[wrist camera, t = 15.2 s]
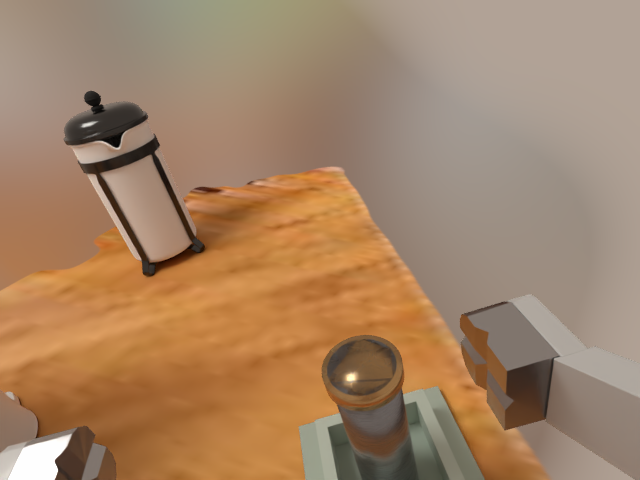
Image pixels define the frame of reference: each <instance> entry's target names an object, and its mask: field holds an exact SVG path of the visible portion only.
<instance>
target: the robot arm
mask: <svg viewBox="0 0 640 480" xmlns="http://www.w3.org/2000/svg"><path fill="white" fill-rule="evenodd" d="M460 328H461V330H462V331H463V333H464V334H465V337H464V338H463V340H462V342H461V349H462V355H463V358H464V362H465V365H466V367H467V369H468V371H469V374H470V375H471V377H472V379H473V380H474V382H475V384H476V385H478V386H480V387H482V388H483V389H485V390H487V403H488V405H489V406H490V408H491V410H492V411H493V413H494V414H495V416H496V418H497V419H498V421H499V422H500V424H501V425H502V427H503V429H504V430H508V429H512V428H515V427H519V426H523V425H526V424H530V423H534V422H538V421H541V420H545V419H546V422H547V423H549V424H550V425H552V426H553V427H555V428H556V429H558V430H559V431H561V432H562V433H564V434H566V435H567V436H569V437H570V438H572V439H573V440H575V441H576V442H578V443H579V444H581V445H583V446H584V447H586V448H587V449H589V450H590V451H592V452H594V453H595V454H596V455H598V456H600V457H601V458H603V459H604V460H606V461H607V462H609V463H610V464H612V465H614V466H615V467H617V468H618V469H620V470H621V471H623V472H624V473H626V474H627V475H629V476H630V477H632V478H633V479H635V480H640V363H638V362H635V361H632V360H630V359H627V358H624V357H622V356H619V355H617V354H614V353H611V352H609V351H606V350H604V349H601V348H599V347H596V346H595V347H591V348H587V347H586V346H585V345H584V344H583V343H582V342H581V341H580V340H579V339H578V338H577V337H576V336H575V335H574V334H573V333H572V332H571V331H570V330H569V329H568V328H567V327H566V326H565V325H564V324H563V323H562V322H561V321H560V320H559V319H558V318H557V317H556V316H555V315H553V313H552V312H551V311H550V310H548V309H547V308H546V307H545V306H544V305H543V304H542V303H541V302H540V301H539V300H538V299H537V298H536V297H535V296H533V295H530V294H528V295H524V296H521V297H518V298H515V299H511V300H508V301H506V302H501V303H497V304H494V305H491V306H487V307H484V308H481V309H477V310H474V311H471V312H468V313H464V314H462V315H461V318H460ZM37 430H38V421H37V418H36V416H35V414H34V413H33V412H32V411H30V410H28V409H26V408H24V407H22V406H21V405H20V402H19V398H18V397H17V396H16V395H15V394H13V393H12V392H6V393H4V392H3V391H1V390H0V480H116V463H115V460H114V458H113V455H112V453H111V452H110V451H109V450H108V448H107V447H105V446H102V445H99V444H96V443H94V439H95V434H94V433H93V432H92V431H91V430H90V429H89V428H88V427H87V426H83V427H77V428H74V429H70V430H66V431H62V432H59V433H55V434H51V435H47V436H44V437H40V438H36V435H37ZM35 438H36V439H35Z"/></svg>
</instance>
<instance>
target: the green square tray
mask: <svg viewBox="0 0 640 480" xmlns="http://www.w3.org/2000/svg"><path fill="white" fill-rule="evenodd" d="M403 398H404V403H405V408H406V413H407V419H408V424H409V429H410V434H411V440H412V445H413V450H414V455H415V461H416V466H417V471H418V476H419V480H485V479H484V477H483V475H482V473H481V471H480V469H479V467H478V465H477V463H476V461H475V459H474V457H473V455H472V453H471V451H470V449H469V447H468V445H467V443H466V441H465V439H464V437H463V435H462V433H461V431H460V429H459V427H458V425H457V423H456V422H455V420H454V418H453V416H452V414H451V412H450V410H449V408H448V406H447V404H446V402H445V400H444V398H443V396H442V394H441V392H440V390H439V388H438V386H436V387H433V388H429V389H426V390H423V389H420V390H417V391H413V392H410V393H406V394H403ZM299 431H300V439H301V447H302V455H303V463H304V471H305V479H306V480H362V479H361V476H360V473H359V469H358V466H357V463H356V460H355V457H354V454H353V451H352V448H351V445H350V442H349V439H348V436H347V433H346V430H345V427H344V424H343V421H342V418H341V415H340V413H338V414H334V415H331V416H327V417H324V418H321V419H317V420H315V422H313V423H309V424H306V425H302V426H299Z"/></svg>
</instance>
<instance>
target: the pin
mask: <svg viewBox="0 0 640 480" xmlns="http://www.w3.org/2000/svg"><path fill="white" fill-rule="evenodd" d="M322 378H323V381H324V384H325V387H326V390H327V392H328V394H329V396H330V397H331V399H332V400H333V401H334V402H335V403H336V404H337V406H338V409H339V412H340V415H341V418H342V421H343V424H344V427H345V430H346V433H347V436H348V439H349V442H350V445H351V448H352V451H353V454H354V457H355V460H356V463H357V466H358V469H359V473H360V476H361V479H362V480H419V476H418V471H417V466H416V461H415V455H414V450H413V445H412V440H411V434H410V429H409V424H408V419H407V413H406V408H405V403H404V398H403V393H402V385H403V382H404V369H403V363H402V358H401V355H400V353H399V351H398V350H397V348H396V347H395V346H394V345H393V344H392V343H390V342H389V341H387V340H385V339H383V338H381V337H377V336H372V335H361V336H355V337H351V338H348V339H346V340H344V341H342V342H340V343H339V344H337V345H336V346H335V347H333V348H332V349H331V350H330V352H329V353H328V354H327V356H326V357H325V359H324V362H323V365H322Z"/></svg>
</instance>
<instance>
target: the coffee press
mask: <svg viewBox="0 0 640 480" xmlns="http://www.w3.org/2000/svg"><path fill="white" fill-rule="evenodd" d="M100 97H101V96H99V94H98V93H96V92H94V91H89V92H87V93H86V94H85V97H84V99H85V102H86V103H87V104H89V105H91V106H93V107H92V108H91V109H90V110H87V111H85V112H82V113H80V114H78V115H76V116H74V117H73V118H71V119H70V120H69V121H68V122H67V124H66V126H65V128H64V132H65V138H64V141H65V143H66V144H67V145H68V146H70V147H71V148H72V150H73V151H74V153H75V155H76V156H77V158H78V163H79V165H80V167H81V168H82V170H83V172H84V173H86V174H87V176H88V177H89V179H90V181H91V183H92V184H93V186H94V188H95V190H96V191H97V193H98V195H99V196H100V198H101V200H102V202H103V204H104V205H105V207H106V209H107V211H108V212H109V214H110V216H111V218H112V219H113V221H114V223H115V225H116V226H117V228H118V230H119V232H120V233H121V235H122V237H123V239H124V240H125V242H126V244H127V246H128V247H129V249H130V251H131V252H132V254H133V256H134V257H135V258H136V259H137V260H139V261H142V270H143V274H144V275H145V276H147V275H154V273H155V266H156V263H157V262H159V261H163V260H166V259H169V258H171V257H173V256H175V255H177V254H179V253H181V252H182V251H184V250H185V249H191V250H193V251H195V252H197V253H201V251H202V250H203V249H204V248H205V246H204V244H203V243H202V242H200V241H199V240H198V239H197V238H196V228H195V225H194V223H193V221H192V218H191V216H190V214H189V212H188V210H187V207H186V205H185V203H184V201H183V198H182V196H181V194H180V192H179V190H178V187H177V185H176V183H175V181H174V179H173V176H172V174H171V172H170V170H169V167H168V165H167V163H166V161H165V159H164V156H163V154H162V152H161V150H160V148H159V146H160V144H159V142H158V140H157V138H156V135H155V134H153V132H152V130H151V128H150V126H149V123H148V115H147V113H146V112H145V111H142V109H141V108H140V107H139V106H138V105H136V104H134V103H131V102H116V103H111V104H106V105H99V104H100V101H101V98H100ZM192 242H193V243H194V244H195V245H194V244H192ZM149 263H150V264H149Z"/></svg>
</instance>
